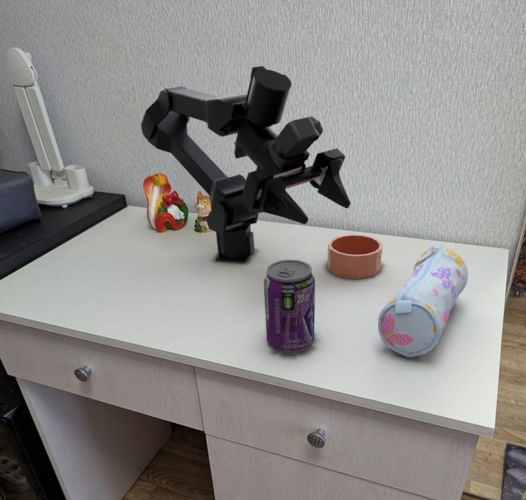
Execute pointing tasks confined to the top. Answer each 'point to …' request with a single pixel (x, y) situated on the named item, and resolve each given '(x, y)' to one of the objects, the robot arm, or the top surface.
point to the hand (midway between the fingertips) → (328, 213)
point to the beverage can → (289, 305)
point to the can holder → (354, 256)
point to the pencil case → (423, 303)
